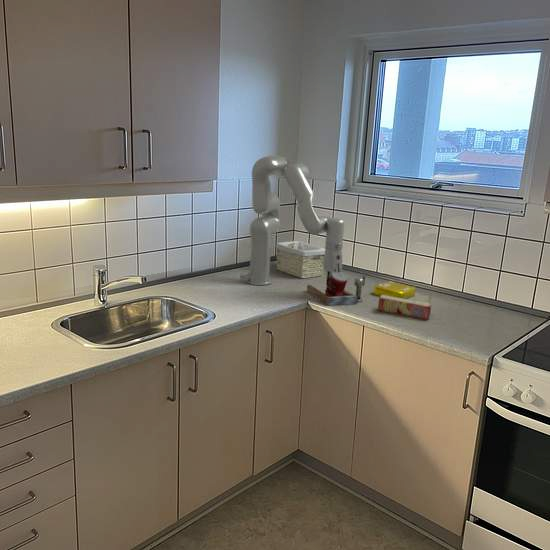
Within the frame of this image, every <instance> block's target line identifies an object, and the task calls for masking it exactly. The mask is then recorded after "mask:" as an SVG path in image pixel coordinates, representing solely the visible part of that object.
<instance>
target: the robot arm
mask: <svg viewBox="0 0 550 550" xmlns="http://www.w3.org/2000/svg"><path fill="white" fill-rule="evenodd" d="M276 175H278V176H279V175H280V176H283V177H284V179H285V181H286V183H287V185H288V187H289V189H290V191H291V193H292V195H293V197H294V198H295V200H296V208H297V214H298V216H299V219H300V221H301V223H302V225H303V227H304V228H305V231H307V233H309V234H310V235H313V236H316V235H319V234H322V233H323V234H324V233H325V244H324V249H325V253H324V261H323V267H324V268H323V270H324V271H325V272H326V287H327V285H328V282H329V279H330V276H331V273H332V272H333V271H335V272H336V273H338V271H340V272H343V243H344V242H343V241H344V232H345V231H344V230H345V221H344V220H343V219H342V218H338V217H337V218H336V217H329V216H326V215H317V214H316V213H315V211H314V208H313V207H314V206H313V203H312V202H313V201H312V200H313V198H314V197H313V196H314V190H313V188H312V187H311V184H310V183H309V181H308V178H309V176H310V171H309V168H308V167H307V166H306V165H305V164H304V163H302V162H300V161H296V160H293V159H291V158H288V157H285V156H281V155H270V156H269V155H267V156H264V157H261V158H259V159H258V160H256V161H255V163H254V164H253V166H252V170H251V182H252V186H251V187H252V188H251V190H252V191H251V195H252V197H251V200H252V210H253V212H254V213H256V214H258V215H262V216H259V217H256V218H254V219H253V220H252V222H250V226H249V235H250V257H249V259H250V260H249V261H250V263H249V271H247V273H245V274H244V273H243V274H239V278H240V279H243V280H245V281H246V283H247V284H249V285H254V286H268V285H271V284H272V283H273V279H272V278H270V272H271V271H270V270H271V268H270V266H271V254H272V252H271V250H272V245H271V243H272V242H271V238H270V236H272V235H275V234H276V233H278V231H280V227H281V202H280V198H279V197H278V195H277V194H276V193H274V192H271V190H272V189H271V185H272V184H271V180H270V176H276Z"/></svg>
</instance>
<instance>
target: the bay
mask: <svg viewBox="0 0 550 550" xmlns="http://www.w3.org/2000/svg"><path fill="white" fill-rule="evenodd" d="M307 291H308V293H309V294H310V293H311V294H310V295H312V296H313V295H314V297H315V298H316V297H317V298H316V299H318V300H319V299H320V300H319V301H320V302H322V303H323V302H324V304H325V305H326V306H328V307H331V306H332V307H333V305H335V306H347V305H348V304H349V305H358V302H357V301H358V296H357V295H356V294H354V293H351V292H349V291H348V290H347V289H344V291H343V294H342V296H337V297H328V296H327V295H325V292H322V291H321V290H319V289H318V288H316V287H315V286H313V285H312V284H307V287H306V292H307ZM346 304H347V305H346Z"/></svg>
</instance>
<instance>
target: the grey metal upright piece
mask: <svg viewBox="0 0 550 550" xmlns="http://www.w3.org/2000/svg"><path fill="white" fill-rule="evenodd" d="M353 282H354V283H353V284H354V286H355V287H356V288H355V289H356V290H355V295H357V296H358V301H357V303H362V302H363V298H361V297H362V287H364V286H365V284H366V275H363V276H362V277H359V278H357V277H356V278H355V279H354V281H353Z"/></svg>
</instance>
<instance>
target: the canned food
mask: <svg viewBox="0 0 550 550" xmlns="http://www.w3.org/2000/svg"><path fill="white" fill-rule="evenodd" d="M348 280H349V276H348V274H347V273H345V272H344V271H342V272H340V271H338V273H336V272H335V271H333V272H332V273H331V276H330V279H329V282H328V285H327V286H326V288H325V290H324V291H325V292H324V294H325V295H327V296H328V297H337V296H342V294H343V291H344V289H345V288H346V286H347V283H348ZM345 290H346V289H345Z"/></svg>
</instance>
